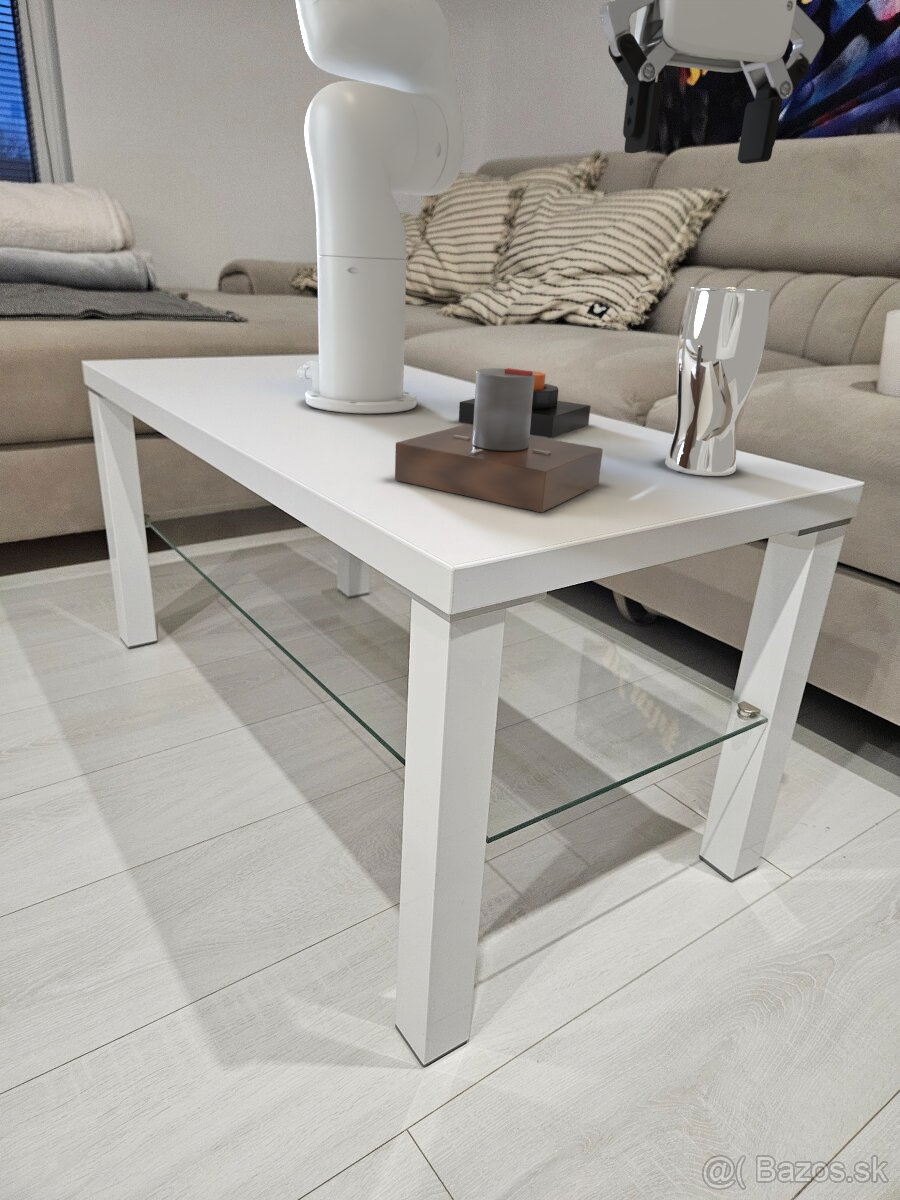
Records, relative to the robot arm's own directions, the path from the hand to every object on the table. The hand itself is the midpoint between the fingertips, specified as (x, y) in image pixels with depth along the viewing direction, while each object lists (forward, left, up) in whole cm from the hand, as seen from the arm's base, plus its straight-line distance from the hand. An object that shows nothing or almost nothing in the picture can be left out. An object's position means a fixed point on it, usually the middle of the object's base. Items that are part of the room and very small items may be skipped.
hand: (697, 156), depth 60 cm
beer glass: (+2, +7, -24) cm, 25 cm away
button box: (-19, +13, -24) cm, 33 cm away
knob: (-9, -10, -21) cm, 25 cm away
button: (-19, +13, -20) cm, 30 cm away
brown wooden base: (-9, -10, -24) cm, 28 cm away
